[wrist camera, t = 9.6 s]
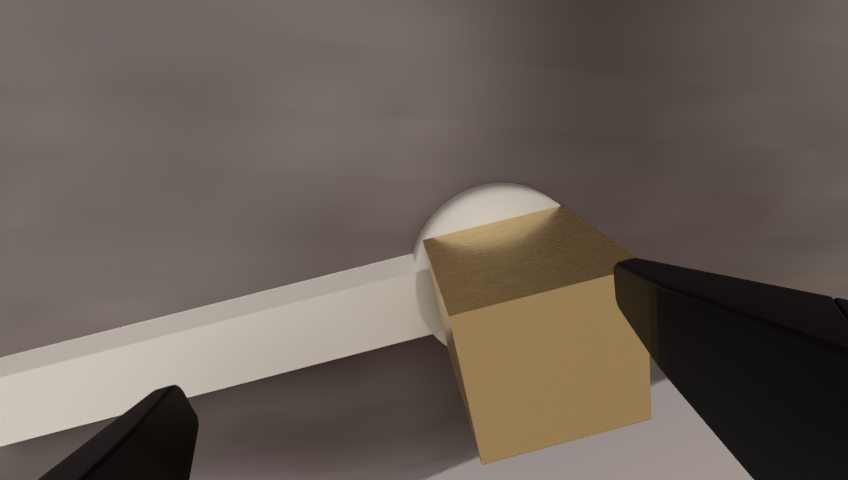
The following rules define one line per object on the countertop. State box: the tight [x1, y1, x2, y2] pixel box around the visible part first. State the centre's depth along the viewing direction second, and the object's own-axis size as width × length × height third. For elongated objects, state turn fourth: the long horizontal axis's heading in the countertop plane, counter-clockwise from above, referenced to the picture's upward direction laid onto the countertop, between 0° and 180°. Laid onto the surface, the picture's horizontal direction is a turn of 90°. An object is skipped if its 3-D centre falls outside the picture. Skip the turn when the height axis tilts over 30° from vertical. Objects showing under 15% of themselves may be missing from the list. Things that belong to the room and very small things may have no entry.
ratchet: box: [0, 182, 560, 446], centre depth 19 cm, size 28×8×6 cm, turn 102°
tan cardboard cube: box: [423, 205, 651, 465], centre depth 17 cm, size 6×6×6 cm
